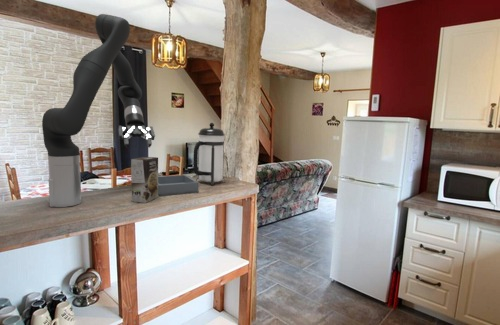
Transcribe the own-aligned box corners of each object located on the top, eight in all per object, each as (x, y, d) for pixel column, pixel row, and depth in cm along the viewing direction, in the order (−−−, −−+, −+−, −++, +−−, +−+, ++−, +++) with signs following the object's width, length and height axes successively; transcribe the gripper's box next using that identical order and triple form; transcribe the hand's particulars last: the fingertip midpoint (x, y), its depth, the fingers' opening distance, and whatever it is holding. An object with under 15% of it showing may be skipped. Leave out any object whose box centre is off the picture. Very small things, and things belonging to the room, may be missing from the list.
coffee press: (193, 179, 152) (194, 121, 148) (223, 179, 155) (225, 123, 151) (193, 187, 136) (193, 122, 131) (227, 187, 139) (229, 123, 134)
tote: (159, 196, 118) (158, 185, 117) (149, 186, 134) (149, 176, 133) (198, 192, 126) (198, 182, 125) (185, 183, 142) (185, 174, 141)
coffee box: (146, 203, 107) (146, 159, 105) (130, 201, 109) (130, 158, 106) (159, 197, 116) (158, 157, 114) (144, 195, 117) (143, 156, 115)
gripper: (117, 111, 123) (120, 140, 115) (151, 112, 130) (157, 140, 122) (116, 123, 129) (119, 152, 120) (149, 124, 136) (155, 151, 127)
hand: (138, 146), depth 121 cm, fingers open, 8 cm apart
